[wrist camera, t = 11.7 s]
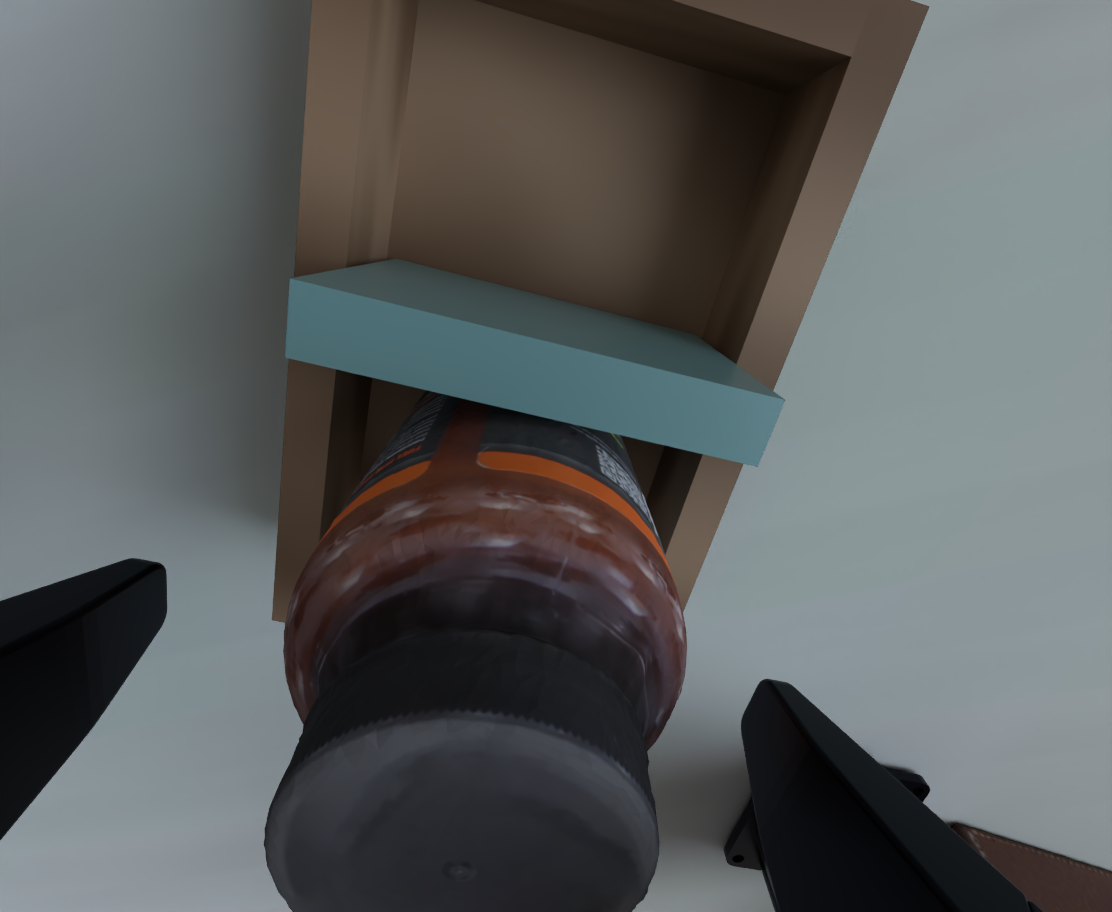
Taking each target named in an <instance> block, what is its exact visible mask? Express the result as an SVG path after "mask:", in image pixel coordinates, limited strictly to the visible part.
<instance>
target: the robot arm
mask: <svg viewBox="0 0 1112 912" xmlns="http://www.w3.org/2000/svg"><path fill="white" fill-rule="evenodd" d="M166 614H167V578H166V569H165V567H164V566H163V565H162V564H160V563H158V562H153V561H147V560H142V559H136V558H130V559H126V560H123V561H120V562H117V563H114V564H111V565H108V566H105V567H102V568H99V569H96V570H93V571H90V572H87V573H84V574H81V575H78V576H75V577H71V578H68V579H65V580H62V581H59V582H56V583H53V584H50V585H47V586H44V587H41V588H38V589H35V590H32V591H29V592H26V593H23V594H20V595H17V596H14V597H11V598H8V599H5V600H2V601H0V840H1V839H2V838H3V837H4V835H5V834H6V833H7V832H8V831H9V829H10V828H11V827H12V826H13V824H14V823H15V822H16V821H17V820H18V818H19V817H20V816H21V815H22V814H23V812H24V811H25V810H26V809H27V807H28V806H29V805H30V804H31V803H32V801H33V800H34V799H35V798H36V797H37V795H38V794H39V793H40V792H41V791H42V789H43V788H44V787H45V786H46V784H47V783H48V782H49V781H50V780H51V778H52V777H53V776H54V775H55V774H56V772H57V771H58V770H59V769H60V767H61V766H62V765H63V764H64V763H65V761H66V760H67V759H68V758H69V757H70V755H71V754H72V753H73V752H74V751H75V749H76V748H77V747H78V746H79V744H80V743H81V742H82V741H83V739H84V738H85V737H86V736H87V734H88V733H89V732H90V730H91V729H92V728H93V727H94V725H95V724H96V722H97V721H98V720H99V718H100V717H101V715H102V714H103V713H104V711H105V710H106V708H107V707H108V705H109V704H110V702H111V701H112V699H113V698H114V696H115V695H116V694H117V692H118V691H119V689H120V688H121V686H122V685H123V683H124V682H125V680H126V679H127V677H128V676H129V674H130V673H131V671H132V670H133V668H134V667H135V665H136V664H137V662H138V661H139V659H140V658H141V657H142V655H143V654H144V652H145V651H146V649H147V648H148V646H149V645H150V643H151V642H152V640H153V639H154V637H155V636H156V634H157V633H158V631H159V630H160V628H161V627H162V625H163V623H164V620H165V618H166ZM741 734H742V740H743V746H744V751H745V757H746V763H747V769H748V775H749V781H750V786H751V792H752V798H751V800H750V802H749V803H748V805H747V807H746V809H745V811H744V813H743V814H742V816H741V818H740V820H739V822H738V824H737V825H736V827H735V829H734V831H733V833H732V834H731V836H730V838H729V840H728V842H727V844H726V845H725V847H724V853H725V857H726V860H727V863H728V864H730V865H732V866H736V867H743V868H749V869H756V870H762V873H763V876H764V879H765V882H766V885H767V888H768V891H769V894H770V897H771V900H772V903H773V906H774V909H775V912H1044V911H1043V910H1042V909H1041V908H1039V907H1038V906H1037V905H1036V904H1035V903H1034V902H1032V901H1030V900H1027V898H1026V896H1025V894H1024V893H1023V892H1021V891H1020V890H1019V889H1018V888H1017V887H1016V886H1015V885H1014V884H1013V883H1011V882H1010V881H1009V880H1008V879H1007V878H1006V877H1005V876H1004V875H1003V874H1001V873H1000V872H999V871H998V870H997V869H996V868H995V867H994V866H993V865H991V864H990V863H989V862H988V861H987V860H986V859H985V858H984V857H983V856H981V855H980V854H979V853H978V852H977V851H976V850H975V849H974V848H973V847H971V846H970V845H969V844H968V843H967V842H966V841H965V840H964V839H962V838H961V837H960V836H959V835H958V834H957V833H956V832H955V831H954V830H952V829H951V828H950V827H949V826H948V825H947V824H946V823H945V822H944V821H942V820H941V819H940V818H939V817H938V816H937V815H936V814H935V813H934V812H932V811H931V810H930V809H929V808H928V807H927V806H926V805H925V804H924V803H922V802H923V801H924V799H925V798H926V797H927V795H928V794H929V792H930V788H929V786H928V784H927V783H926V782H925V780H924V779H923V777H922V776H920V775H918V774H913V773H907V772H902V771H896V770H891V769H885V768H883V767H882V766H881V765H880V764H879V763H878V762H877V761H876V760H875V759H873V758H872V757H871V756H870V755H869V754H868V753H867V752H866V751H865V750H863V749H862V748H861V747H860V746H859V745H858V744H857V743H856V742H855V741H853V740H852V739H851V738H850V737H849V736H848V735H847V734H846V733H845V732H843V731H842V730H841V729H840V728H839V727H838V726H837V725H836V724H835V723H833V722H832V721H831V720H830V719H829V718H828V717H827V716H826V715H825V714H823V713H822V712H821V711H820V710H819V709H818V708H817V707H816V706H815V705H813V704H812V703H811V702H810V701H809V700H808V699H807V698H806V697H805V696H803V695H802V694H801V693H800V692H799V691H798V690H797V689H796V688H795V687H793V686H792V685H791V684H789V683H786V682H782V681H777V680H771V679H764V680H762V681H761V682H760V683H759V684H758V686H757V688H756V690H755V692H754V694H753V696H752V698H751V700H750V702H749V704H748V706H747V708H746V710H745V712H744V714H743V717H742V721H741Z"/></svg>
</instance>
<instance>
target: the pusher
mask: <svg viewBox="0 0 1112 912" xmlns="http://www.w3.org/2000/svg"><path fill="white" fill-rule="evenodd" d="M285 358H290V359H294V360H298V361H303V362H307V363H311V364H316V365H320V366H324V367H329V368H333V369H337V370H341V371H346V372H350V373H354V374H359V375H363V376H367V377H372V378H376V379H380V380H385V381H389V382H393V383H398V384H402V385H406V386H411V387H415V388H419V389H423V390H428V391H432V392H436V393H441V394H445V395H449V396H454V397H458V398H462V399H467V400H471V401H475V402H480V403H484V404H488V405H493V406H497V407H501V408H505V409H510V410H514V411H518V412H523V413H527V414H531V415H536V416H540V417H544V418H549V419H553V420H557V421H562V422H566V423H570V424H575V425H579V426H583V427H587V428H592V429H596V430H600V431H605V432H609V433H613V434H618V435H622V436H626V437H631V438H635V439H639V440H644V441H648V442H652V443H657V444H661V445H665V446H669V447H674V448H678V449H682V450H687V451H691V452H695V453H700V454H704V455H708V456H713V457H717V458H721V459H726V460H730V461H734V462H739V463H743V464H747V465H751V466H756V467H758V464H759V462H760V459H761V457H762V455H763V452H764V450H765V447H766V445H767V443H768V440H769V438H770V435H771V433H772V431H773V428H774V426H775V423H776V421H777V419H778V416H779V414H780V412H781V409H782V407H783V404H784V402H785V400H784V399H783V398H782V397H780V396H779V395H778V394H776V393H775V392H773V391H772V390H771V389H769V388H768V387H767V386H765V385H764V384H762V383H761V382H760V381H758V380H757V379H756V378H754V377H753V376H751V375H750V374H749V373H747V372H746V371H745V370H743V369H742V368H740V367H739V366H738V365H736V364H735V363H734V362H732V361H731V360H729V359H728V358H727V357H725V356H724V355H723V354H721V353H720V352H718V351H717V350H716V349H714V348H713V347H712V346H710V345H709V344H707V343H706V342H705V341H703V340H702V339H701V338H699V337H698V336H696V335H695V334H691V333H687V332H683V331H679V330H675V329H671V328H668V327H664V326H660V325H656V324H652V323H648V322H644V321H640V320H636V319H632V318H628V317H624V316H620V315H616V314H612V313H608V312H604V311H601V310H597V309H593V308H589V307H585V306H581V305H577V304H573V303H569V302H565V301H561V300H557V299H553V298H549V297H545V296H541V295H537V294H534V293H530V292H526V291H522V290H518V289H514V288H510V287H506V286H502V285H498V284H494V283H490V282H486V281H482V280H478V279H474V278H471V277H467V276H463V275H459V274H455V273H451V272H447V271H443V270H439V269H435V268H431V267H427V266H423V265H419V264H415V263H411V262H407V261H404V260H400V259H392V260H386V261H381V262H375V263H370V264H365V265H359V266H354V267H348V268H343V269H338V270H332V271H327V272H321V273H316V274H311V275H305V276H300V277H294V278H290V283H289V299H288V316H287V332H286V348H285Z"/></svg>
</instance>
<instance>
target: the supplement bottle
mask: <svg viewBox="0 0 1112 912" xmlns="http://www.w3.org/2000/svg"><path fill="white" fill-rule="evenodd" d="M283 652H284V662H285V674H286V679H287V683H288V687H289V690H290V694H291V697H292V700H293V704H294V706H295V708H296V710H297V712H298V714H299V717H300V719H301V721H302V723H303V724H304V726H303V733H302V735H301V737H300V738H299V743H298V745H297V747H296V749H295V752H294V755H293V757H292V760H291V762H290V764H289V766H288V768H287V770H286V772H285V774H284V776H283V778H282V780H281V782H280V784H279V786H278V789H277V791H276V793H275V796H274V798H273V801H272V803H271V805H270V808H269V812H268V817H267V822H266V826H265V840H264V847H265V850H266V861H267V866H268V869H269V871H270V873H271V876H272V878H273V880H274V883H275V885H276V887H277V890H278V892H279V893H280V894H281V896H282V897H283V898H284V899H285V900H286V902H287V904H288V906H289V908H290V909H291V910H292V911H293V912H632V911H633V910H634V908H635V907H636V905H637V904H638V903H639V902H641V901H642V900H643V899H644V897H645V895H646V894H647V892H648V886H649V884H650V882H651V880H652V878H653V876H654V873H655V869H656V865H657V861H658V856H659V835H658V827H657V818H656V810H655V801H654V798H653V795H652V792H651V786H650V780H649V775H648V764H649V760H648V754H647V751H648V750H649V749H650V748H651V746H652V745H653V744H654V743H655V742H656V740H657V739H658V737H659V735H660V734H661V733H662V731H663V729H664V727H665V725H666V722H667V721H668V719H669V718H670V716H671V713H672V711H673V709H674V707H675V704H676V701H677V699H678V697H679V695H680V693H681V690H682V684H683V681H684V677H685V668H686V652H687V641H686V628H685V622H684V617H683V612H682V608H681V603H680V599H679V595H678V591H677V588H676V585H675V582H674V579H673V577H672V574H671V571H670V569H669V566H668V563H667V560H666V556H665V553H664V550H663V547H662V544H661V541H660V538H659V537H658V534H657V531H656V528H655V525H654V523H653V519H652V517H651V514H650V511H649V509H648V507H647V504H646V501H645V497H644V495H643V494H642V491H641V488H640V486H639V483H638V480H637V478H636V475H635V473H634V469H633V467H632V464H631V461H630V458H629V456H628V453H627V451H626V447H625V445H624V442H623V440H622V438H621V435H618V434H613V433H609V432H605V431H600V430H596V429H592V428H587V427H583V426H579V425H575V424H570V423H566V422H562V421H557V420H553V419H549V418H544V417H540V416H536V415H531V414H527V413H523V412H518V411H514V410H510V409H505V408H501V407H497V406H493V405H488V404H484V403H480V402H475V401H471V400H467V399H462V398H458V397H454V396H449V395H445V394H441V393H436V392H432V391H428V390H426V392H425V393H424V394H423V395H422V397H421V398H420V399H419V401H418V402H417V403H416V405H415V406H414V408H413V409H412V410H411V411H410V413H409V414H408V416H407V417H406V418H405V420H404V421H403V423H402V425H401V426H400V427H399V429H398V430H397V432H396V433H395V435H394V436H393V437H392V439H391V440H390V442H389V443H388V444H387V446H386V447H385V448H384V449H383V451H382V453H381V455H380V456H379V457H378V459H377V460H376V462H375V463H374V464H373V466H372V467H371V468H370V470H369V472H368V473H367V474H366V476H365V477H364V478H363V480H362V481H361V483H360V484H359V486H358V487H357V489H356V490H355V491H354V493H353V494H352V496H351V497H350V498H349V500H348V501H347V503H346V504H345V506H344V507H343V508H342V509H341V510H340V513H339V515H338V516H337V517H336V518H335V519H334V521H333V523H332V525H331V527H330V528H329V529H328V531H327V532H326V534H325V535H324V536H323V538H322V539H321V541H320V542H319V544H318V545H317V547H316V548H315V550H314V551H313V553H312V554H311V556H310V558H309V560H308V562H307V563H306V565H305V567H304V569H303V571H302V573H301V575H300V577H299V579H298V580H297V582H296V585H295V588H294V592H293V594H292V598H291V601H290V603H289V607H288V613H287V618H286V623H285V630H284V650H283Z"/></svg>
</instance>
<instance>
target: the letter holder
mask: <svg viewBox="0 0 1112 912" xmlns="http://www.w3.org/2000/svg"><path fill="white" fill-rule="evenodd" d="M951 829H952V830H954V831H955V832H956V833H957V834H958V835H959V836H960V837H961V838H962V839H964V840H965V841H966V842H967V843H968V844H969V845H970V846H971V847H973V848H974V849H975V850H976V851H977V852H978V853H979V854H980V855H981V856H983V857H984V858H985V859H986V860H987V861H988V862H989V863H990V864H991V865H993V866H994V867H995V868H996V869H997V870H998V871H999V872H1000V873H1001V874H1003V875H1004V876H1005V877H1006V878H1007V879H1008V880H1009V881H1010V882H1011V883H1013V884H1014V885H1015V886H1016V887H1017V888H1018V889H1019V890H1020V891H1021V892H1023V893H1024V894H1025V896H1026V898H1027V900H1030V901H1032V902H1034V903H1035V904H1036V905H1037V906H1038V907H1039V908H1041V909H1042V910H1043V911H1044V912H1112V872H1109V871H1107V870H1103V869H1099V868H1097V867H1093V866H1091V865H1088V864H1084V863H1080V862H1078V861H1075V860H1072V859H1070V858H1066V857H1064V856H1058V855H1057V854H1052V853H1051V852H1047V851H1043V850H1041V849H1037V848H1035V847H1031V846H1028V845H1024V844H1021V843H1018V842H1015V841H1012V840H1008V839H1005V838H1002V837H999V836H996V835H993V834H990V833H987V832H984V831H981V830H977V829H973V828H970V827H967V826H964V825H960V824H957V823H956V824H954V825H953V827H952V828H951Z"/></svg>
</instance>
